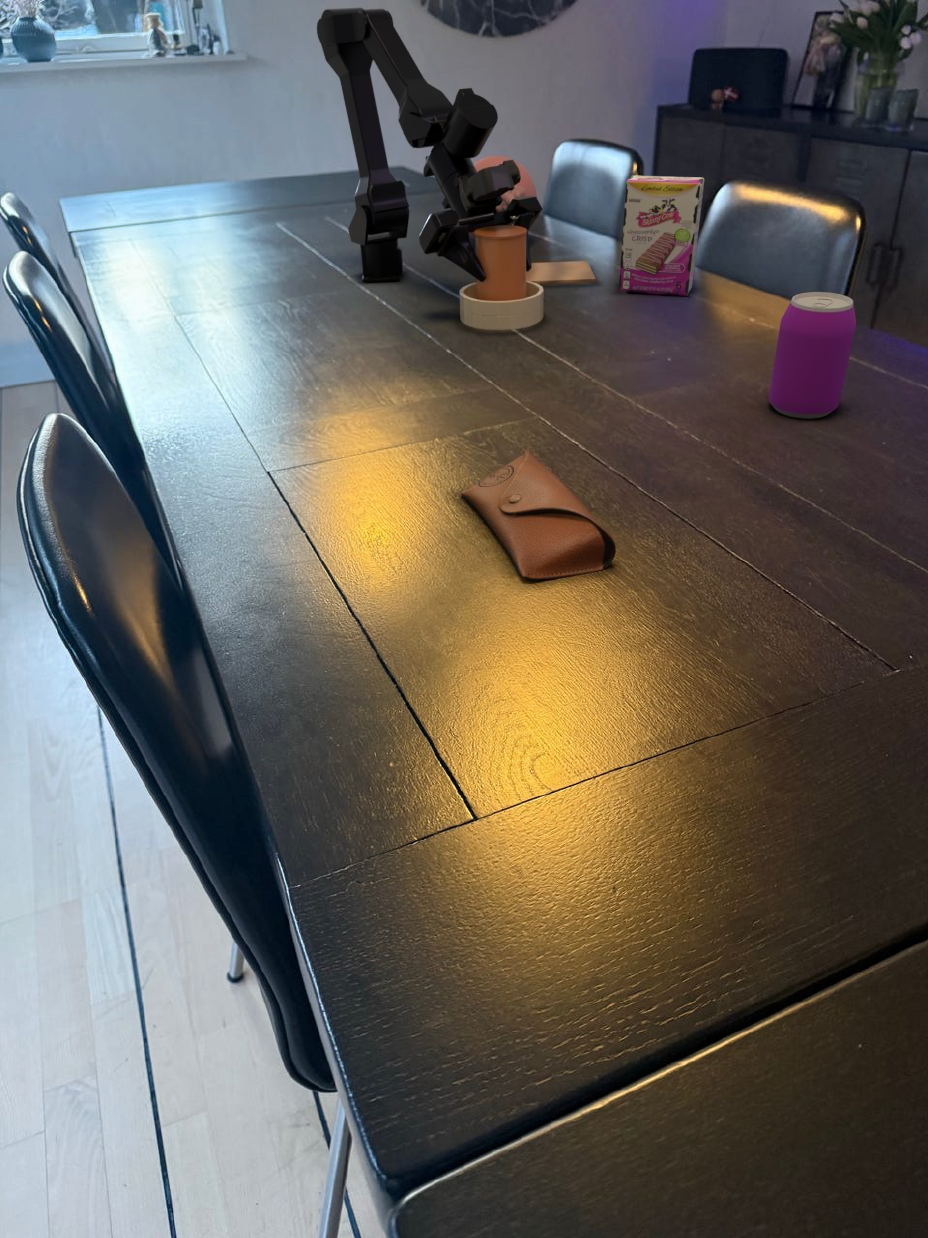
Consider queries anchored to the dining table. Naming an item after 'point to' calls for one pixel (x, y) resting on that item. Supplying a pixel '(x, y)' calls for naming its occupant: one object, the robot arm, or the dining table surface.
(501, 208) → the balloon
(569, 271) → the plate
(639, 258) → the candy bar box
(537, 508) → the sunglasses case
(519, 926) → the dining table surface
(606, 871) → the dining table surface
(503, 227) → the orange lidded canister
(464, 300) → the cream round container
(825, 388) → the beverage can
